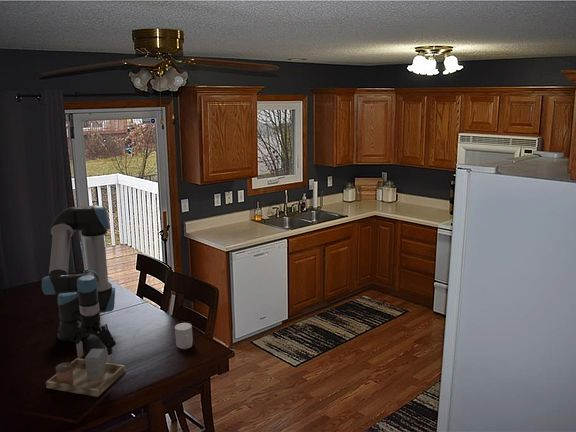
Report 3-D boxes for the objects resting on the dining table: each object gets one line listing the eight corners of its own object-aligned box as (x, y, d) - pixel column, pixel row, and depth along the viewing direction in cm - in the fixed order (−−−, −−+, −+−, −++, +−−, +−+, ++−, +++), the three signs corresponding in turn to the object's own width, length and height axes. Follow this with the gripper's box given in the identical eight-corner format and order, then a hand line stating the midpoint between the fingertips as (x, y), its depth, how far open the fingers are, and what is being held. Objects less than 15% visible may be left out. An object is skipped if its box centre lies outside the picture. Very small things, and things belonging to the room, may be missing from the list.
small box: (93, 370, 230) (91, 348, 227) (106, 370, 230) (104, 348, 227) (86, 380, 222) (84, 357, 220) (100, 380, 222) (97, 357, 220)
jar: (54, 386, 218) (52, 369, 216) (64, 378, 224) (62, 361, 222) (67, 388, 216) (65, 371, 214) (77, 380, 222) (75, 363, 220)
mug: (172, 324, 254) (188, 320, 258) (173, 341, 257) (189, 338, 260) (179, 334, 244) (196, 330, 248) (180, 352, 246) (197, 349, 250)
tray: (46, 389, 217) (45, 382, 216) (77, 365, 236) (76, 357, 235) (98, 398, 211) (97, 390, 210) (125, 372, 230) (125, 365, 229)
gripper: (57, 313, 218) (63, 359, 224) (111, 320, 212) (115, 367, 218) (69, 305, 225) (74, 350, 231) (121, 312, 219) (125, 358, 225)
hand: (94, 358), depth 225 cm, fingers open, 13 cm apart
